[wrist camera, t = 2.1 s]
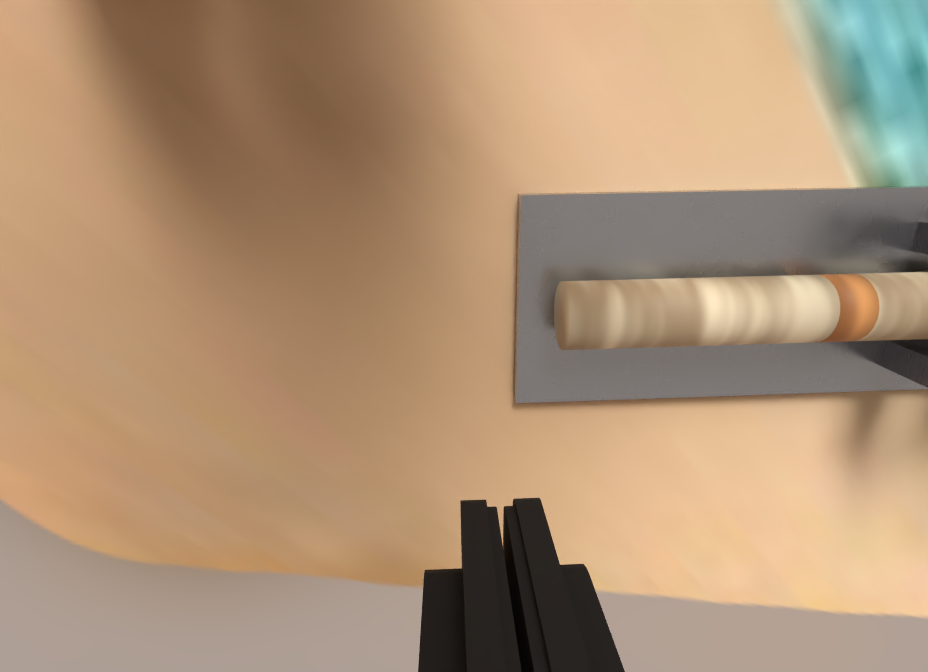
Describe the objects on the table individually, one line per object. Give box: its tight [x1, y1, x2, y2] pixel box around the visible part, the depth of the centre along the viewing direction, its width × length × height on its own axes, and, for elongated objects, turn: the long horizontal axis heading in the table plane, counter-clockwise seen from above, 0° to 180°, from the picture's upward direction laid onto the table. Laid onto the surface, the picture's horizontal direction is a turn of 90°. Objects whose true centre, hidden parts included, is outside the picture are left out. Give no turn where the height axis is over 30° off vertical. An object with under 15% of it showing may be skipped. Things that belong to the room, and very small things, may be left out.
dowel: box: [554, 272, 928, 350], centre depth 25 cm, size 24×4×4 cm, turn 91°
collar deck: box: [514, 186, 928, 403], centre depth 24 cm, size 12×40×9 cm, turn 91°
